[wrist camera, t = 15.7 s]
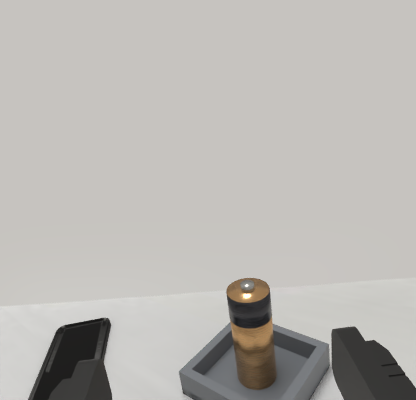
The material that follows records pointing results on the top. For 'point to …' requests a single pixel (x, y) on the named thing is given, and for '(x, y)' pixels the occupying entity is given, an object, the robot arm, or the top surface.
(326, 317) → the top surface
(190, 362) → the tray
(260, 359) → the battery cell
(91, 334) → the phone
